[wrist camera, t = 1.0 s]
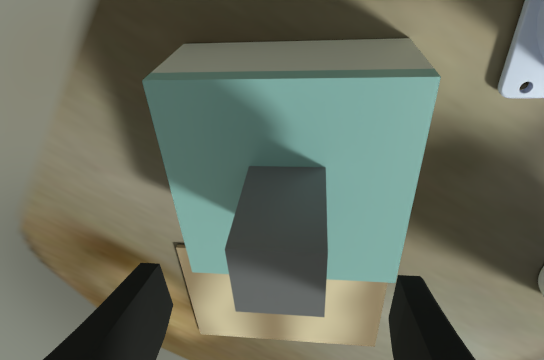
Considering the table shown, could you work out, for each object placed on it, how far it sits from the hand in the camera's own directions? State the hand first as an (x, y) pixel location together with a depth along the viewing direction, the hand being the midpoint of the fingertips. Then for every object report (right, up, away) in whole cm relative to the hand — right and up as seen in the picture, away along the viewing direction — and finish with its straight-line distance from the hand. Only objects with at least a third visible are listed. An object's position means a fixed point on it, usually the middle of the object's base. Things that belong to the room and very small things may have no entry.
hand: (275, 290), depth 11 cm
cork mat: (+1, -5, +15) cm, 16 cm away
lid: (+1, +4, +5) cm, 6 cm away
